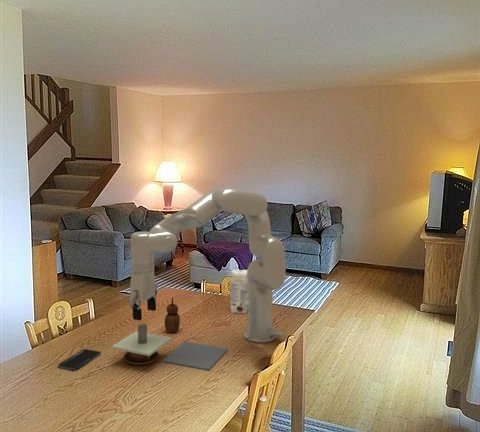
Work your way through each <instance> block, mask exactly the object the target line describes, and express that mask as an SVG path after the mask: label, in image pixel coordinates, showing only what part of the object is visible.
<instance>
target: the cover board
mask: <svg viewBox="0 0 480 432" xmlns="http://www.w3.org/2000/svg"><path fill="white" fill-rule="evenodd" d="M172 339H173V337H170V336H169V337H168V336H163V335H159V334H155V333H154V334H153V333H148V324H146V323H140V324H138V325H137V331H134V332H132V333H131V334H129V335H127V336H126V337H124V338H123V339H122V340H119V341H118V342H116V343H115V344H112V345H111V349H114V350H118V351H124V352H126V353H127V352H132V353H137V354H142V355H147V356H150V355H151V354H153V353H154V352H158V351H159V350H160V349H161V348H163V347H164V346H166V344H168V343H170V342H171V341H173V340H172Z"/></svg>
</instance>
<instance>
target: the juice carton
mask: <svg viewBox="0 0 480 432" xmlns="http://www.w3.org/2000/svg"><path fill="white" fill-rule="evenodd" d="M247 270H248V269H232V271H231V274H230V301H229V302H230V305H229V306H230V311H231V313H232V314H248V308H249V284H248V277H247Z"/></svg>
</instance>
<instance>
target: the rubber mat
mask: <svg viewBox="0 0 480 432" xmlns="http://www.w3.org/2000/svg"><path fill="white" fill-rule="evenodd" d="M228 351H229V348H226V347H225V348H224V347H219V346H214V345H213V346H212V345H208V344H203V343H202V344H201V343H196V342H191V341H183V342H182V343H181V344H180V345H179V346H178V347H176V348H175V349H174V350H173V351H172V352H170V353H169V354H167V356H166V357H164V358H163V359H162V361H161V362H162V363H167V364H171V365H177V366H181V367H187V368H193V369H196V370H197V369H198V370H203V371H208V372H209V371H211V370H212V368H214V367H215V365H217V363H218V362H219V361H220V360H221V359H222V358H223V356H225V354H227V352H228Z"/></svg>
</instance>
